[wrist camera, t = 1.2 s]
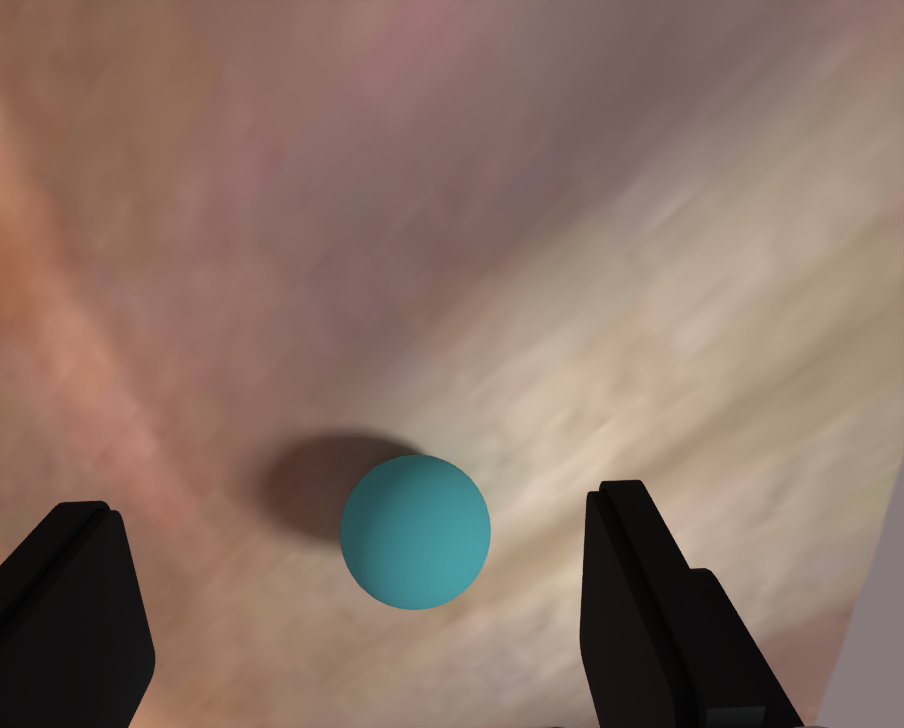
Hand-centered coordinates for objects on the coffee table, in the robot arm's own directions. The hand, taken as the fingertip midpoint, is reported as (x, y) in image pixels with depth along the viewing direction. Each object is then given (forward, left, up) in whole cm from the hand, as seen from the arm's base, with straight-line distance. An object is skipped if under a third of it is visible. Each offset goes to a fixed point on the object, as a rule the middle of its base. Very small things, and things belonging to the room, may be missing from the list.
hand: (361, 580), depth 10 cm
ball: (+9, 0, -15) cm, 17 cm away
